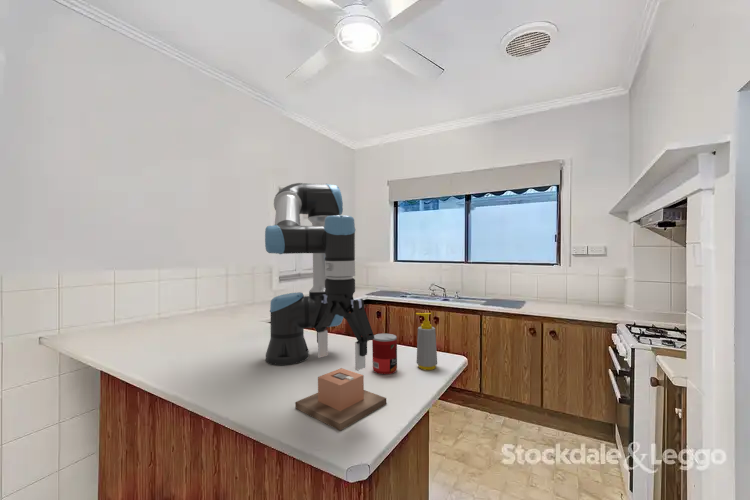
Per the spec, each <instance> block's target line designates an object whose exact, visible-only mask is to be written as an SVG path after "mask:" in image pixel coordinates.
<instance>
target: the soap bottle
mask: <svg viewBox="0 0 750 500" xmlns="http://www.w3.org/2000/svg"><path fill="white" fill-rule="evenodd" d="M431 314H432V313H431V312H422V313H421V312H416V313H415V315H417V316H421V317H423V318H424V320H423V321H422V324H420V326H418V328H417V337H416V339H417V341H416V343H417V344H416V364H417V366H418V368H419V369H420V370H424V371H432V370H434V369H436V366H437V365H438V353H437V334H436V328H435V327H434V326H432V325H433V324H431V321H430V320H429V315H431Z"/></svg>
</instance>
